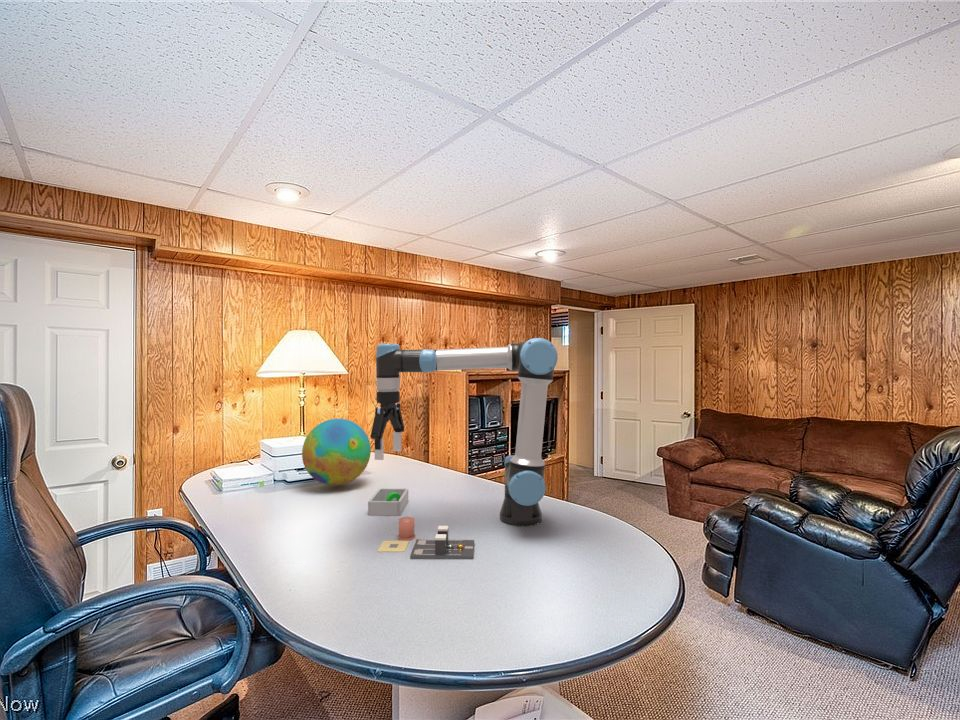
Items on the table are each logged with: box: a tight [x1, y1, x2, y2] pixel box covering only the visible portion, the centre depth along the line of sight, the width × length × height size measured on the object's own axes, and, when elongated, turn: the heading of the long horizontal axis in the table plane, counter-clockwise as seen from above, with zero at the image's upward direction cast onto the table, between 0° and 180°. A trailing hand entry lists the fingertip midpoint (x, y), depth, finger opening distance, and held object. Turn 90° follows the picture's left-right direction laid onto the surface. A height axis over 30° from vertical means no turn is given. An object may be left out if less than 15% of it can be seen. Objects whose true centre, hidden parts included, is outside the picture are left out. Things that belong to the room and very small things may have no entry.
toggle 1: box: [437, 525, 449, 545], centre depth 143 cm, size 3×3×5 cm
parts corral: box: [367, 487, 409, 517], centre depth 181 cm, size 12×18×5 cm, turn 179°
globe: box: [301, 418, 372, 487], centre depth 214 cm, size 30×30×30 cm
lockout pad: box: [377, 540, 410, 553], centre depth 142 cm, size 8×8×1 cm
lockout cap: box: [397, 516, 416, 541], centre depth 150 cm, size 6×6×6 cm
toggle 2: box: [434, 533, 446, 554], centre depth 136 cm, size 3×3×5 cm
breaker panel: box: [409, 538, 475, 560], centre depth 139 cm, size 18×12×2 cm, turn 89°
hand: (388, 455), depth 153 cm, fingers open, 13 cm apart
